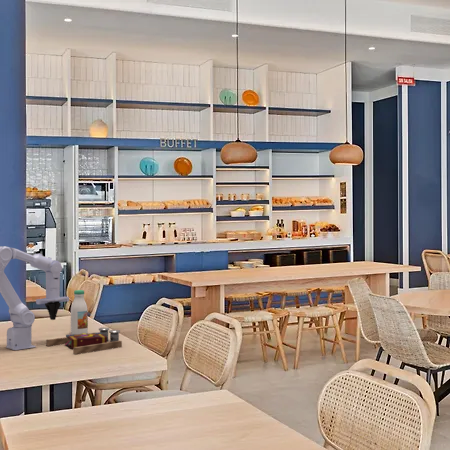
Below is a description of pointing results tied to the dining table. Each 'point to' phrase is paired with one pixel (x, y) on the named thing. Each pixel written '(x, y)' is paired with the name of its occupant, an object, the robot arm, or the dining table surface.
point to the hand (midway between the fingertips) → (52, 319)
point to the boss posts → (113, 334)
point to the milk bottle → (79, 314)
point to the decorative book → (85, 339)
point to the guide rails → (85, 348)
